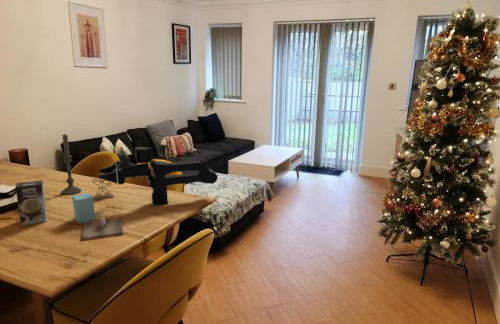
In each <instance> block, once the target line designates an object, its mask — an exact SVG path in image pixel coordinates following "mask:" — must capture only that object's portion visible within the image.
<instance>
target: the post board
mask: <svg viewBox="0 0 500 324" xmlns="http://www.w3.org/2000/svg"><path fill="white" fill-rule="evenodd" d="M122 221H123V220H122V217H118V218H117V217H116V218H110V219H105V218H104V217H101V218H99V220H93V221H88V222H84V223H83V229H82V233H81V234H82V236H81V240H82V241H86V240H93V239H101V238H109V237H115V236H121V235H124V231H123V223H122Z"/></svg>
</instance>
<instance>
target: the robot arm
mask: <svg viewBox="0 0 500 324" xmlns="http://www.w3.org/2000/svg"><path fill="white" fill-rule="evenodd" d="M134 150H135V161H136V162H138V164H137V163H136V164H135V163H133V162H131V158H130V157H129V156H128V155H127V154H126V152H122V153H119V154H117V157H118V159H119V160H115V161H114V162H113V164H111V165H110V166H107V167H104V168H100V169H99V170H98V172H99V173H100V174H102V175H99V174H98V175H99V176H98V177H99V178H100V179H103V180H107V181H106V182H108V181H110V183H114V184H116V185H117V184H118V185H124V184H125V183H126V179H127V178H128V179H129V178H132V179H136V178H138V177H146V178H147V182H148V185H149V187H150V188H151V189H152V192H151V202H152V204H153V206H159V205H160V206H162V205H168V204H169V201H168V200H169V199H168V186H172V185H174V186H175V185H180V184H184V185H185V184H191V183H192V184H193V183H203V184H210V185H212V184H215V183H216V182H217V181H218V174H217V173H216V172H215V171H214V170H213V169H211V168H207V167H206V166H205V165H204V164H203V163H202V162H201V161H200V160H195V161H194V160H193V161H181V162H180V161H179V162H167V161H157V160H154V159H153V158H152V148H151V147H147V146H144V147H143V146H138V147H135V149H134ZM149 165H150V167H149ZM189 171H190V172H191V171H198V172H193V173H192V172H191V173H183V174H172V173H179V172H189ZM169 174H170V175H169ZM171 174H172V175H171ZM99 178H98V179H99Z"/></svg>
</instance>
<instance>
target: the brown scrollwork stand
mask: <svg viewBox="0 0 500 324" xmlns="http://www.w3.org/2000/svg"><path fill="white" fill-rule="evenodd" d="M102 174H103V173H99V174H98V175H97V178H96V177H94V178H92V183H93V184H94V185H96V186H98V190H97V192H96V193H95V195H93V196H92V197H93V201H98V200H104V199H110V198H111V199H112V198H114V194H113V193H112V192H110V191H109V190H108V189H107V187H108V188H109V187H111V186H112V182H111V181H107V180H104V179H101V178H99V175H102ZM96 182H97V183H96ZM106 182H108V183H106ZM103 183H104V185H103ZM100 184H101V187H100ZM106 186H107V187H106ZM103 189H105V190H106V191H107V192H105V191H104V190H103ZM100 190H101V192H100V193H99V191H100ZM102 193H103V194H102Z"/></svg>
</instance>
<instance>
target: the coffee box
mask: <svg viewBox="0 0 500 324" xmlns="http://www.w3.org/2000/svg"><path fill="white" fill-rule="evenodd" d="M14 188H15V194H16V200H17V207H18V214H19V215H18V216H19V221H20V226H25V225H33V224H39V223H41V224H42V223H46V222H47V221H48V213H47V207H46V206H47V205H46V199H45V192H44V191H45V189H44V181H43V180H36V181H25V182H24V181H23V182H17V183H16V184H15V187H14Z"/></svg>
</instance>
